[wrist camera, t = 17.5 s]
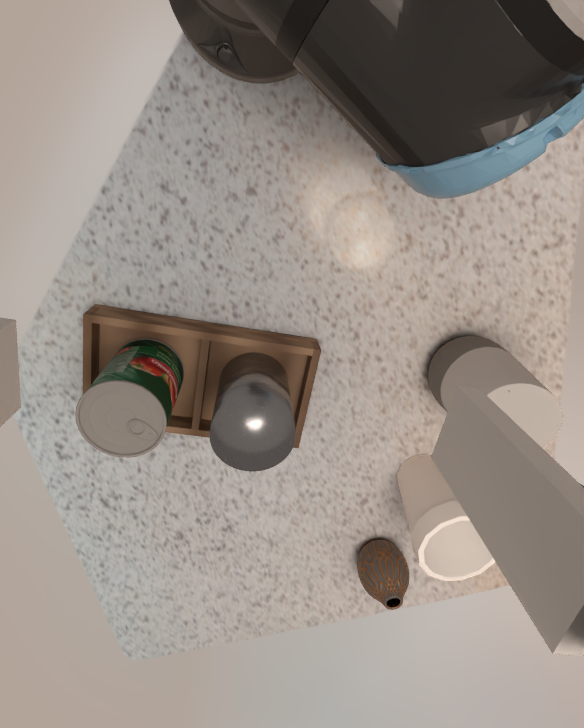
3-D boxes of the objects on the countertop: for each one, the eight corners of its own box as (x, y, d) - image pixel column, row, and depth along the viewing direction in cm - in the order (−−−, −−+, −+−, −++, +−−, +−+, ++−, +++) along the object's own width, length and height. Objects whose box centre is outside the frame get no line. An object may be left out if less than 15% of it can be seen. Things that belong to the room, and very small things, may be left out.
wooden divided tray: (93, 406, 51) (82, 422, 48) (95, 304, 46) (83, 313, 43) (295, 432, 54) (298, 448, 51) (316, 339, 50) (321, 350, 46)
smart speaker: (411, 349, 51) (462, 406, 38) (485, 315, 50) (563, 363, 37) (434, 411, 55) (488, 482, 42) (504, 381, 54) (581, 445, 41)
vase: (399, 563, 65) (419, 618, 57) (353, 569, 65) (367, 624, 57) (400, 529, 62) (421, 581, 54) (352, 534, 62) (366, 587, 54)
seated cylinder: (208, 366, 49) (195, 414, 39) (274, 342, 48) (279, 385, 38) (234, 422, 52) (229, 481, 42) (297, 401, 52) (307, 455, 41)
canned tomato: (100, 378, 49) (58, 431, 38) (134, 324, 46) (100, 364, 36) (162, 413, 51) (139, 471, 41) (198, 362, 49) (183, 410, 39)
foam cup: (417, 511, 61) (455, 592, 49) (371, 479, 58) (400, 557, 46) (467, 468, 59) (521, 542, 47) (422, 432, 56) (467, 501, 44)
